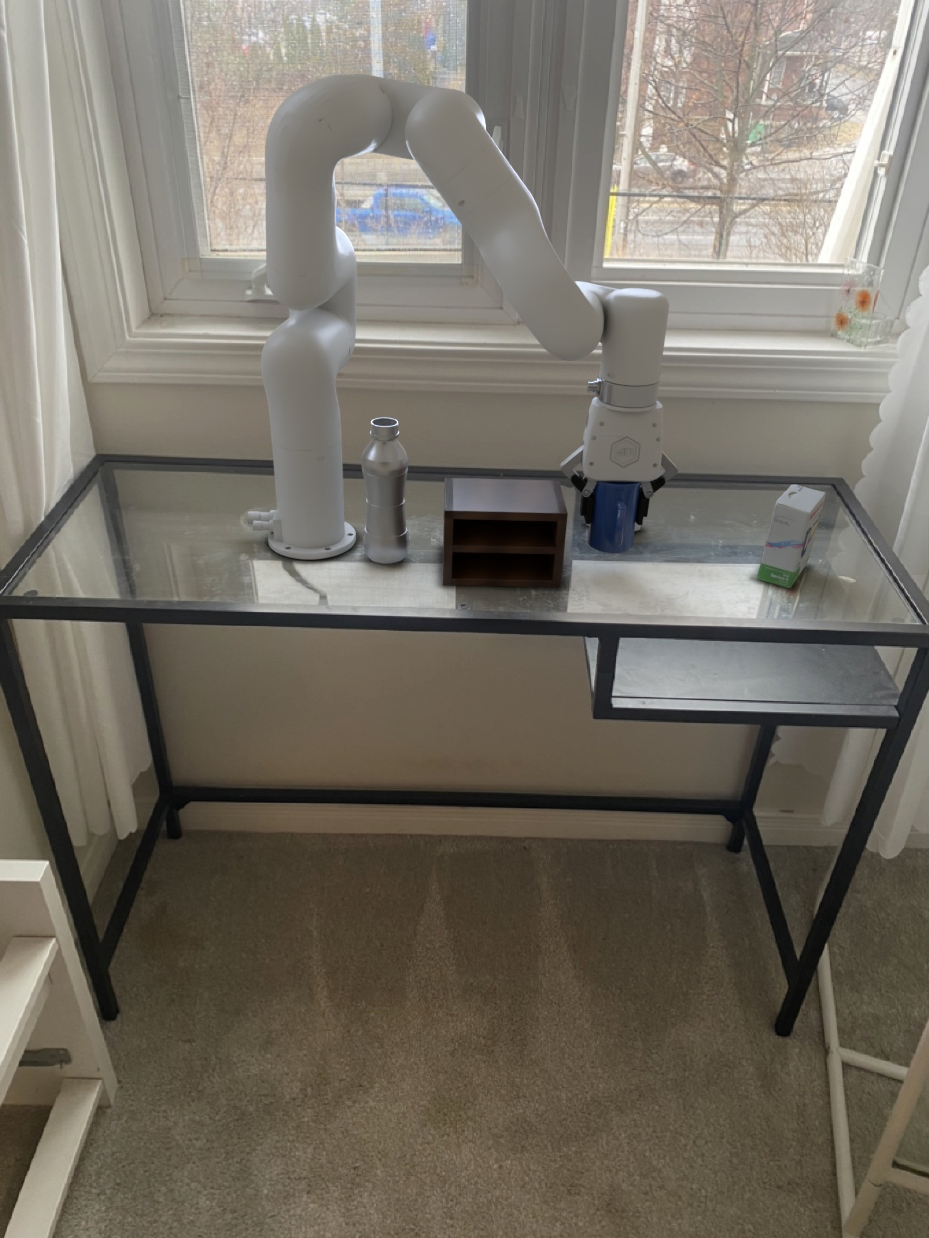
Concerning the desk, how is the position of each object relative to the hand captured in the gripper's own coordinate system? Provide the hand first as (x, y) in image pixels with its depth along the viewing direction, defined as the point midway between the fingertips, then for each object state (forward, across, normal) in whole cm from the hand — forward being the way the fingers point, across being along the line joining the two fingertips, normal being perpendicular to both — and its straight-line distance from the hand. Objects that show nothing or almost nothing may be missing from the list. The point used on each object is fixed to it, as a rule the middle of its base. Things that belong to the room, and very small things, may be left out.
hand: (612, 519), depth 131 cm
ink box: (+8, +25, 0) cm, 26 cm away
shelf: (+8, -15, 0) cm, 17 cm away
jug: (+4, 0, 0) cm, 4 cm away
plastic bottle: (+8, -31, +2) cm, 32 cm away
